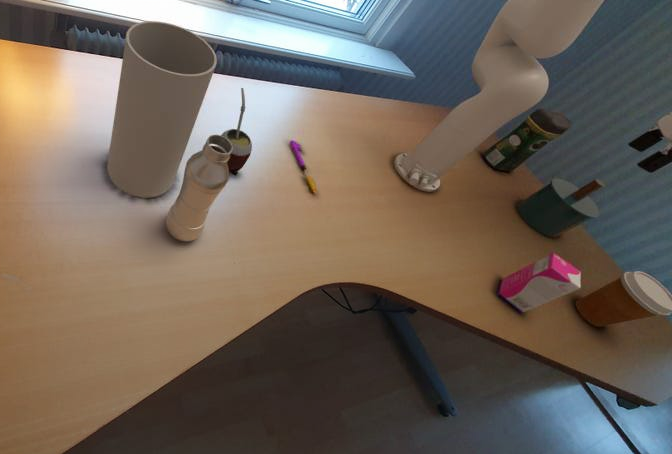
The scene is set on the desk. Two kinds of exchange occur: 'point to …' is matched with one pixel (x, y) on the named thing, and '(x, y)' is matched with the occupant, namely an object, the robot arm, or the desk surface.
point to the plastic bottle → (199, 188)
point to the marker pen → (302, 163)
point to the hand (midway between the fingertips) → (638, 158)
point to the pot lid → (577, 196)
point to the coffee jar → (527, 139)
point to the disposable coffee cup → (626, 300)
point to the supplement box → (539, 283)
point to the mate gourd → (238, 144)
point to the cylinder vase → (157, 105)
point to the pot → (549, 213)
